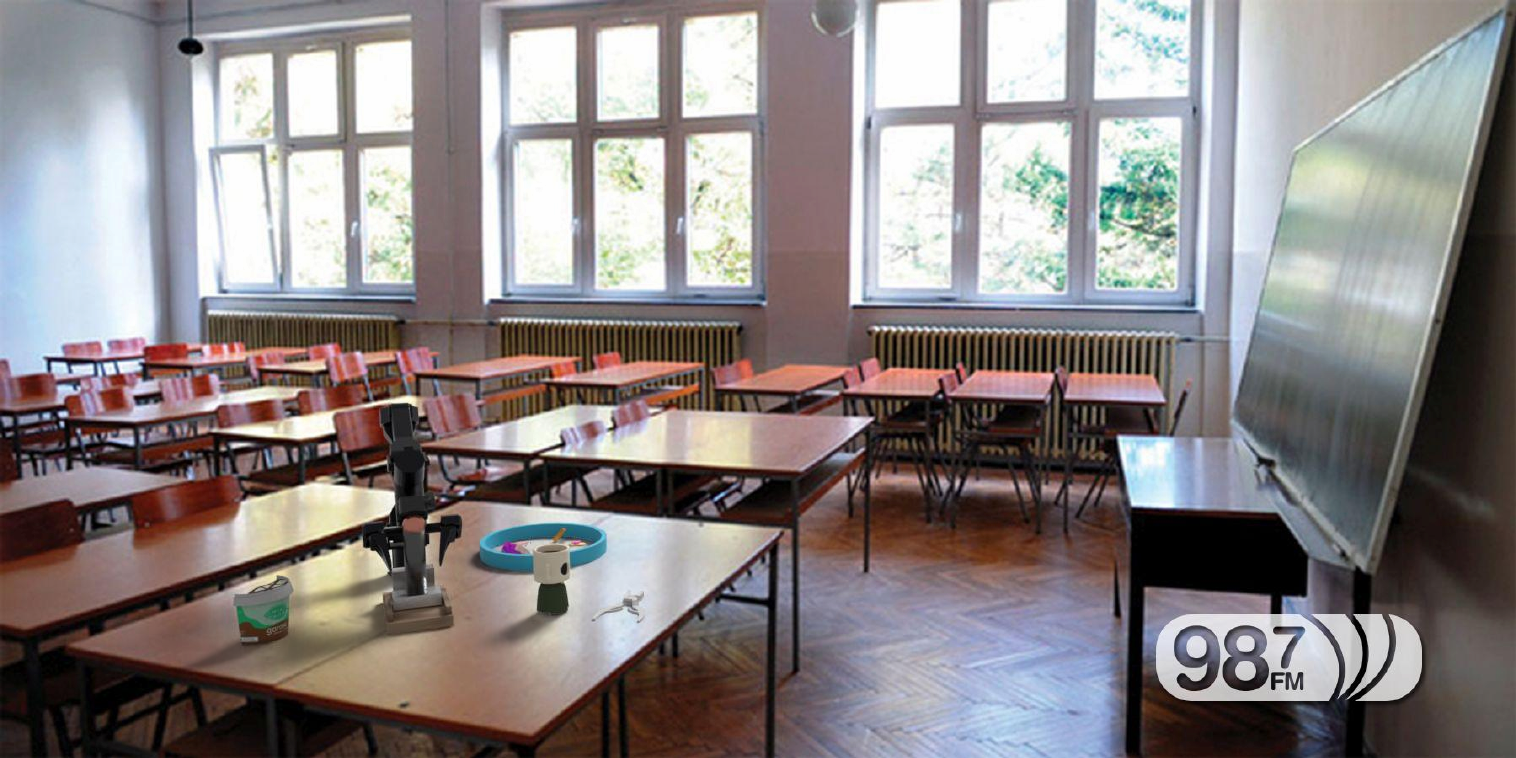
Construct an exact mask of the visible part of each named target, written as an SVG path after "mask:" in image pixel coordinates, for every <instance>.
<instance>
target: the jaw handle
mask: <svg viewBox="0 0 1516 758" xmlns="http://www.w3.org/2000/svg"><path fill="white" fill-rule="evenodd" d="M425 527H426V524H425V520H424V519H423V518H422V517H421V516H419V515H416V514H413V515H409V516H407V517H406V518H405V519H404V520H403V523H402V530H403V539H404V561H405V583H406V590H398V591H393V590H391V592H392V604H393V611H396V610H404V609H412V608H420V607H427V606H435V605H442V592H441V589H440V586H441V585H438V584H437V585H435V586H430V587H427V570H426V565H427V554H426V553H427V552H426V547H427V546H425Z"/></svg>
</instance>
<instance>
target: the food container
mask: <svg viewBox="0 0 1516 758" xmlns="http://www.w3.org/2000/svg"><path fill="white" fill-rule="evenodd" d="M275 578H276V580H273V581H271V582H270V583H267V584H263V585H259V586H256V587H255V588H252V590H250V591H249V592H247V593H234V597H233V603H232V606H233V607H235V608H236V614H237V615H236V617H237V622H238V629H239V636H240V641H241V643H240V644H241V646H246V647H249V646H250V647H251V646H261V645H266V644H270V643H269V642H271V643H273V641H275V642H278V641H279V640H282V639H284V638H285V637H287V635H289V629H290V628H289V627H290V626H289V625H290V624H289V621H290V597H291V596H290V595H291V594H293V592H294V588H293V585H292V581H290V578H289V577H287V576H284V575H279V574H278V575H277V574H276V577H275Z"/></svg>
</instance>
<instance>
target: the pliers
mask: <svg viewBox="0 0 1516 758" xmlns="http://www.w3.org/2000/svg"><path fill="white" fill-rule="evenodd" d="M631 591H632V590H631V589H630V590H626V592H625V594H624V596H623V597H624V598H623V599H624V600H623V601H622V602H619V603H617V604H613V605H610V606H606V607H604V608H602V609H600V610H599V611H597V612H596V613H594V614H593V616H592V621H596V620H597V619H599V618H600V617H601V616H603V615H604V614H607V613H614V612H615V613H616V612H619V611H622V610H624V607H625V606H629V605H630V606H631V605H632V606H631V607H628V608H627V611H629V612H630V613H632V614H636V615H638V617H637V620H636V623H641V622H642V621H643V620H644V619H645V616H646V611H645V608H644V607H643V606H641V605H640V602H641V601H642V600H643V599H644V597H645V592H644V591H643V590H641V591H639V592H637V593H636V594H635V595H633V594H632V592H631Z"/></svg>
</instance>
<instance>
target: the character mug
mask: <svg viewBox="0 0 1516 758" xmlns="http://www.w3.org/2000/svg"><path fill="white" fill-rule="evenodd" d="M569 551H570V546H569V545H566V544H562V543H547V544H542V545H538V546H535V547H534V548H533V549H532V555H533V563H534V571H533V579H534V580H533V581H534V582H536V583H538V584H539V586H538V590H537V591H538V592H537V599H536V611H537V612H538V613H542V614H550V615H551V616H552V615H554V614H556V615H558V614H562V613H565V612H567V611H569V608H570V605H569V604H570V603H569V597H568V591H567V586H566V584H565V581H567V580H570V578H571V567H570V553H569Z"/></svg>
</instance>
